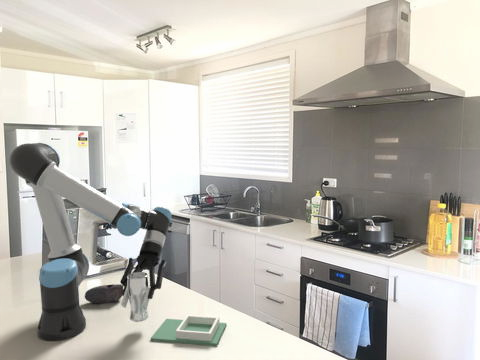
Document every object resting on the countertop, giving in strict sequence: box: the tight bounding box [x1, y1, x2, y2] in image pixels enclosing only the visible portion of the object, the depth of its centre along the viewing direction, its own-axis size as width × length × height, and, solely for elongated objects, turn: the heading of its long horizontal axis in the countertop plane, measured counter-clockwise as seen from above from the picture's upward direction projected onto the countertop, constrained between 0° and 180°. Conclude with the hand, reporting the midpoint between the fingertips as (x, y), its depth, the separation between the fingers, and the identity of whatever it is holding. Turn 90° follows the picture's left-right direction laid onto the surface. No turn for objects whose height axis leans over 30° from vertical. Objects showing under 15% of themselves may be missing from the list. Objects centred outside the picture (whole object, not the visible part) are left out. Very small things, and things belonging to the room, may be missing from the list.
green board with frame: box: [150, 314, 227, 347], centre depth 132 cm, size 22×14×3 cm, turn 79°
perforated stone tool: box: [84, 283, 124, 304], centre depth 158 cm, size 15×5×7 cm, turn 94°
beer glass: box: [127, 271, 149, 323], centre depth 133 cm, size 7×7×15 cm
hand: (133, 306), depth 130 cm, fingers closed on beer glass, 7 cm apart
